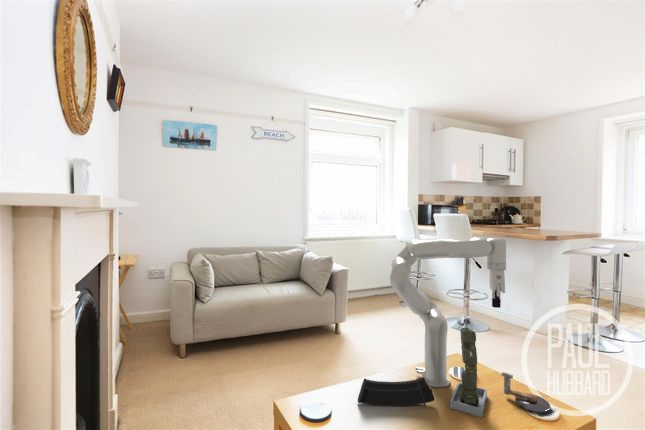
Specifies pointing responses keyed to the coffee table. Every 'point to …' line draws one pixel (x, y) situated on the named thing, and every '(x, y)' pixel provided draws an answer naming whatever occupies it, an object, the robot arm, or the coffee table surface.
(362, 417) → the coffee table surface
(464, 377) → the mechanical leg
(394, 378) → the coffee table surface
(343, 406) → the coffee table surface
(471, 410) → the tray
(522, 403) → the crank base
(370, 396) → the magazine
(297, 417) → the coffee table surface
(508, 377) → the crank
